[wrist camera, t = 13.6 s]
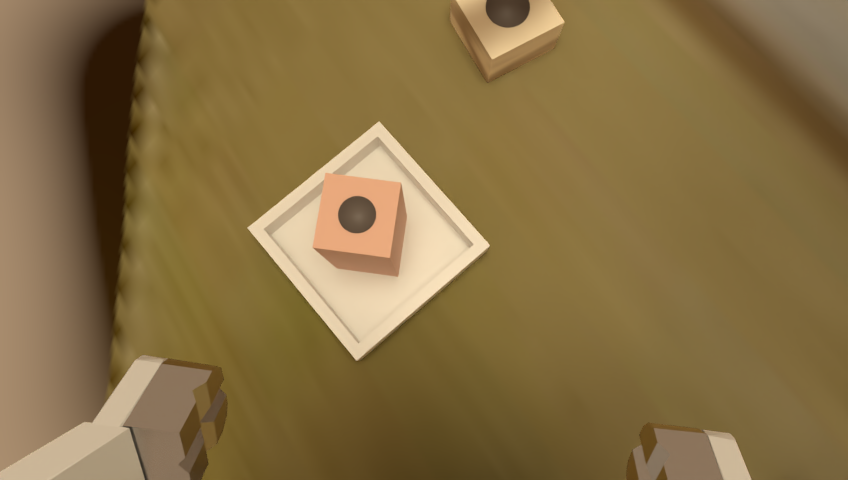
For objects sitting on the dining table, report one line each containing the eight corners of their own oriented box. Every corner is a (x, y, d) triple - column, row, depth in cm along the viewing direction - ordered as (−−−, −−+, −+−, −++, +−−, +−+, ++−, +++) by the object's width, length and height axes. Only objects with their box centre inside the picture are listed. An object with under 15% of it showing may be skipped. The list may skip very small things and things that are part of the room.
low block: (553, 49, 47) (564, 21, 43) (487, 84, 46) (492, 59, 42) (515, -11, 48) (522, -44, 44) (449, 22, 47) (451, -9, 43)
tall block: (398, 276, 43) (389, 257, 34) (336, 268, 43) (312, 247, 34) (407, 216, 44) (401, 182, 35) (346, 208, 44) (325, 172, 35)
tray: (486, 251, 44) (490, 245, 41) (361, 360, 43) (356, 360, 40) (382, 134, 46) (379, 121, 43) (258, 234, 44) (247, 227, 42)
